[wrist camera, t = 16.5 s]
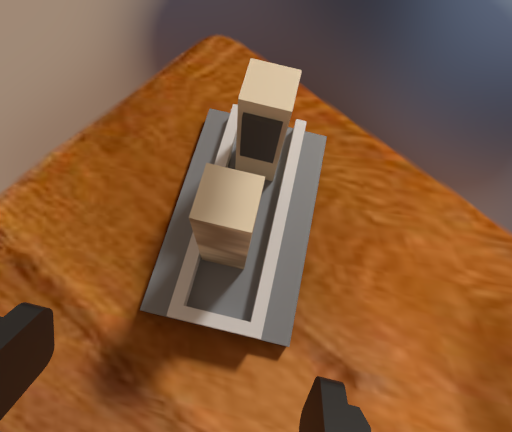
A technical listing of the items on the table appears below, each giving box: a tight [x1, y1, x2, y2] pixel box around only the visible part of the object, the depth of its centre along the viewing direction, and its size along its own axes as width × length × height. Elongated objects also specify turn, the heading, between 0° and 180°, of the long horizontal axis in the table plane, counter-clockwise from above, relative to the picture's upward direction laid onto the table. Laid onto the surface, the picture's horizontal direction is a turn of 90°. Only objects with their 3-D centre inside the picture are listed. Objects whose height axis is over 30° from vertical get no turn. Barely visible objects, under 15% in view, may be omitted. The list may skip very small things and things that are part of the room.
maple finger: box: [189, 163, 265, 270], centre depth 24 cm, size 4×4×10 cm
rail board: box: [140, 58, 327, 347], centre depth 25 cm, size 12×20×11 cm, turn 167°
